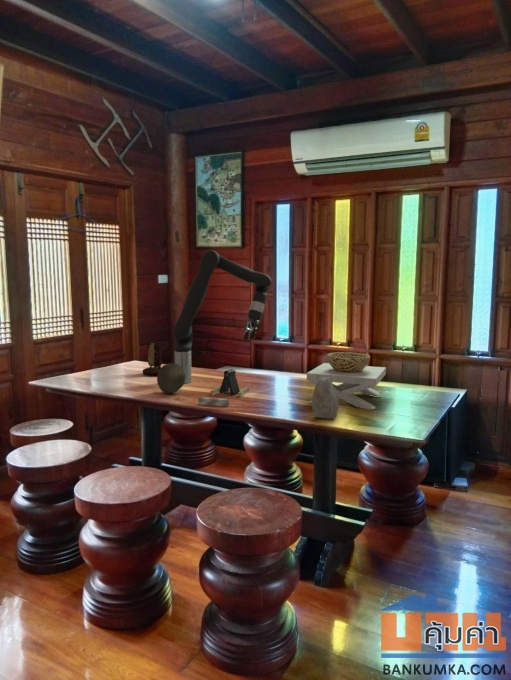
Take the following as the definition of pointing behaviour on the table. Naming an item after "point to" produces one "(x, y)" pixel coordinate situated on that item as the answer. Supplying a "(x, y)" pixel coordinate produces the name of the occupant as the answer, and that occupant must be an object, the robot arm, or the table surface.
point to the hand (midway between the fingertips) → (248, 339)
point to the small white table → (349, 376)
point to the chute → (217, 400)
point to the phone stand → (229, 383)
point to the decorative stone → (324, 399)
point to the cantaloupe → (171, 378)
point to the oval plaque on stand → (153, 358)
